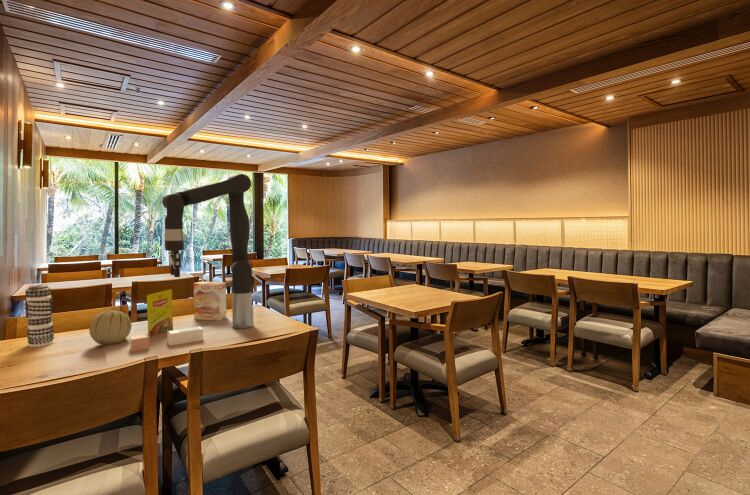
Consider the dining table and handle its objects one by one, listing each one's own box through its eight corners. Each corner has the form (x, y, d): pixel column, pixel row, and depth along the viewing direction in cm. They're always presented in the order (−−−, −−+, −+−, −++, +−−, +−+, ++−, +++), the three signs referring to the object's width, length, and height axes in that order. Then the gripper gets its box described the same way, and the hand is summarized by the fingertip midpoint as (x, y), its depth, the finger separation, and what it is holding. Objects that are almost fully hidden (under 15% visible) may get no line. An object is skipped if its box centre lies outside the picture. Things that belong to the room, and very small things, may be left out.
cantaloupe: (86, 352, 154) (85, 315, 153) (93, 341, 167) (92, 307, 166) (130, 346, 161) (129, 311, 160) (133, 337, 174) (132, 304, 173)
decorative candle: (60, 341, 167) (57, 284, 166) (35, 348, 159) (32, 287, 157) (46, 339, 170) (43, 283, 169) (21, 345, 162) (18, 286, 160)
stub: (147, 345, 159) (147, 333, 159) (149, 348, 155) (148, 336, 155) (130, 348, 156) (130, 336, 155) (131, 351, 152) (131, 339, 151)
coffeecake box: (193, 319, 206) (192, 283, 204) (201, 316, 213) (200, 281, 211) (219, 320, 203) (218, 284, 202) (226, 317, 210) (226, 282, 209)
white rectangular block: (200, 337, 171) (200, 326, 171) (203, 340, 167) (202, 328, 167) (167, 342, 163) (167, 330, 163) (169, 345, 159) (169, 333, 159)
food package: (149, 340, 170) (147, 295, 169) (147, 339, 171) (145, 295, 169) (173, 330, 185) (172, 289, 184) (171, 330, 186) (170, 289, 184)
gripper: (186, 240, 166) (187, 277, 167) (180, 238, 178) (181, 273, 179) (167, 240, 162) (168, 278, 163) (162, 239, 173) (163, 274, 174)
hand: (175, 276), depth 171 cm, fingers open, 8 cm apart
